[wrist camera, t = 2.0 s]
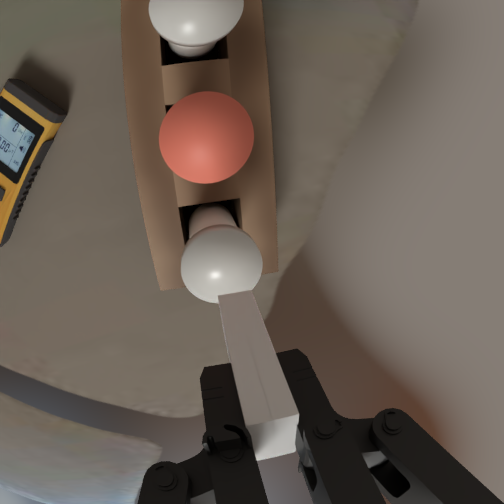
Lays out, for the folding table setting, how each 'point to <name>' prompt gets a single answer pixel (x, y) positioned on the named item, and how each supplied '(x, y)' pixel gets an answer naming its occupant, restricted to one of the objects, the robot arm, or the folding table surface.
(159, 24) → the grey plug
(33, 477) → the folding table surface
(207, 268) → the grey plug
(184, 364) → the folding table surface
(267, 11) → the folding table surface
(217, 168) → the red plug
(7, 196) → the electronic device
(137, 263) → the folding table surface
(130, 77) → the socket block
